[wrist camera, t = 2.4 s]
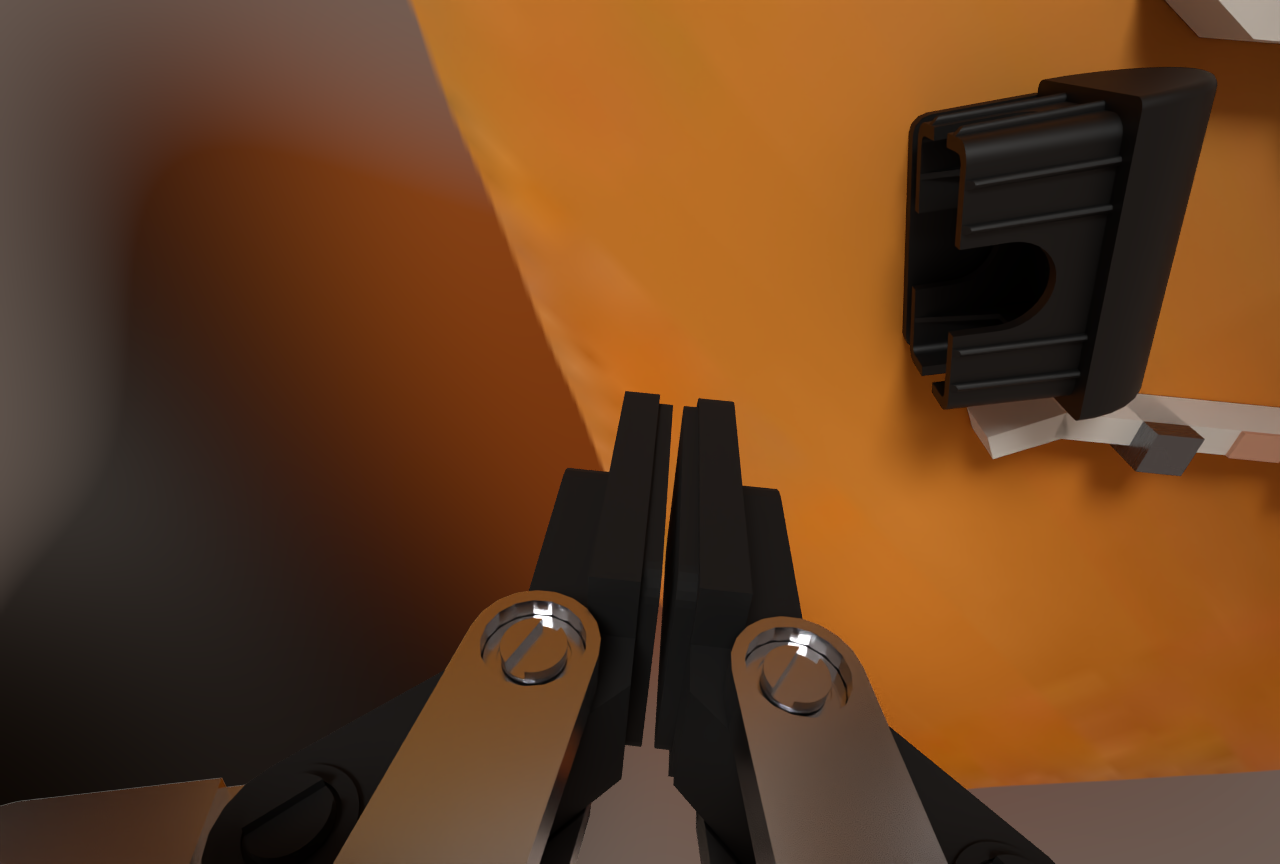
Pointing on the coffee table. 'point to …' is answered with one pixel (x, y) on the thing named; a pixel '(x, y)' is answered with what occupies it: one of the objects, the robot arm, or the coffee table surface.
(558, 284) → the coffee table surface
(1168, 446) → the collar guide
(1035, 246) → the end cap
